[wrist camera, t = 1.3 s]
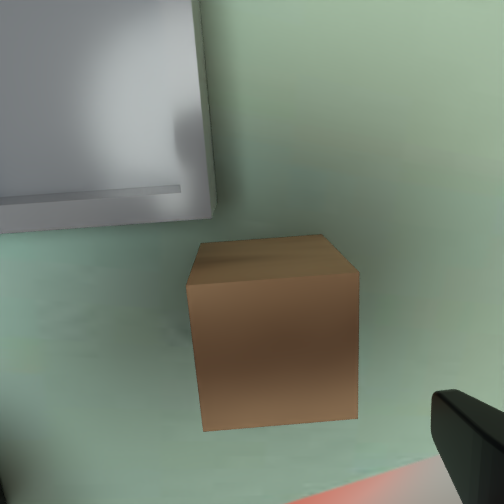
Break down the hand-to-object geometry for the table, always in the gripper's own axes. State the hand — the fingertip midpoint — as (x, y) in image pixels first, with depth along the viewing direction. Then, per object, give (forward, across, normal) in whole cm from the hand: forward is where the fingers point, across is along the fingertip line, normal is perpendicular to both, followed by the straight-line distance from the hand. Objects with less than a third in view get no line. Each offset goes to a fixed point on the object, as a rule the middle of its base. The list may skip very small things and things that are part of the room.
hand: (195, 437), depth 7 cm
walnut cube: (+12, -2, +2) cm, 13 cm away
